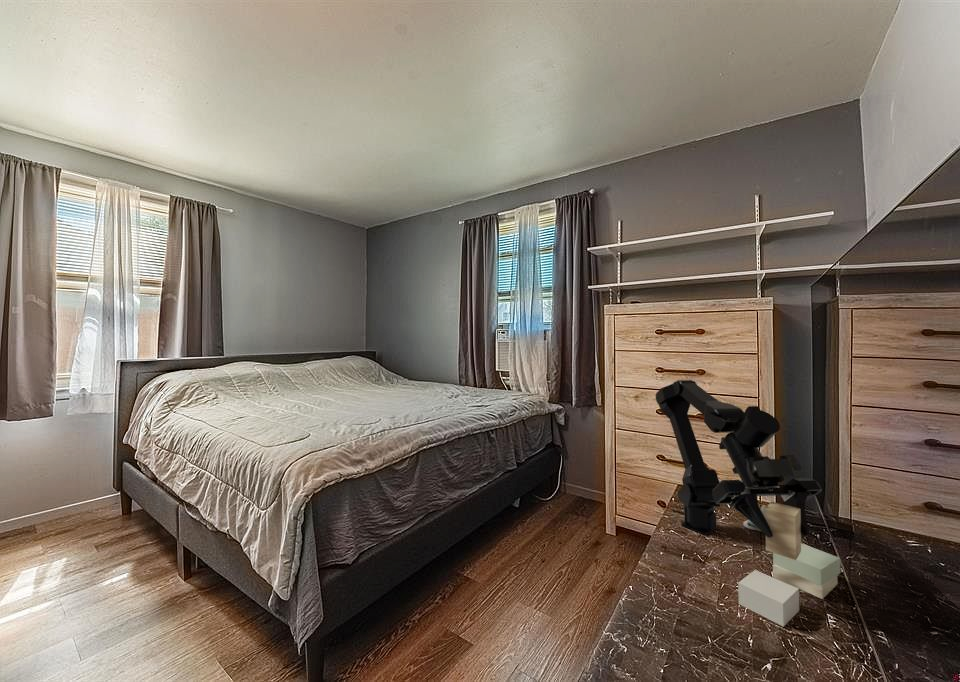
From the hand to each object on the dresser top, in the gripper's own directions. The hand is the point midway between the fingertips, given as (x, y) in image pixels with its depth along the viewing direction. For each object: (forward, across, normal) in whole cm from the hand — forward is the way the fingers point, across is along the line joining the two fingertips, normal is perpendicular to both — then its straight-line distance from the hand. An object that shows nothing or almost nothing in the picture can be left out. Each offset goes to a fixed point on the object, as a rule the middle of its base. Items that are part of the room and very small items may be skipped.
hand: (789, 536), depth 71 cm
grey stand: (+9, -4, +9) cm, 14 cm away
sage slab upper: (+2, +9, +12) cm, 15 cm away
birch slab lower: (+4, +9, +15) cm, 18 cm away
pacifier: (-11, +15, +30) cm, 35 cm away
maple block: (+1, 0, +3) cm, 4 cm away
